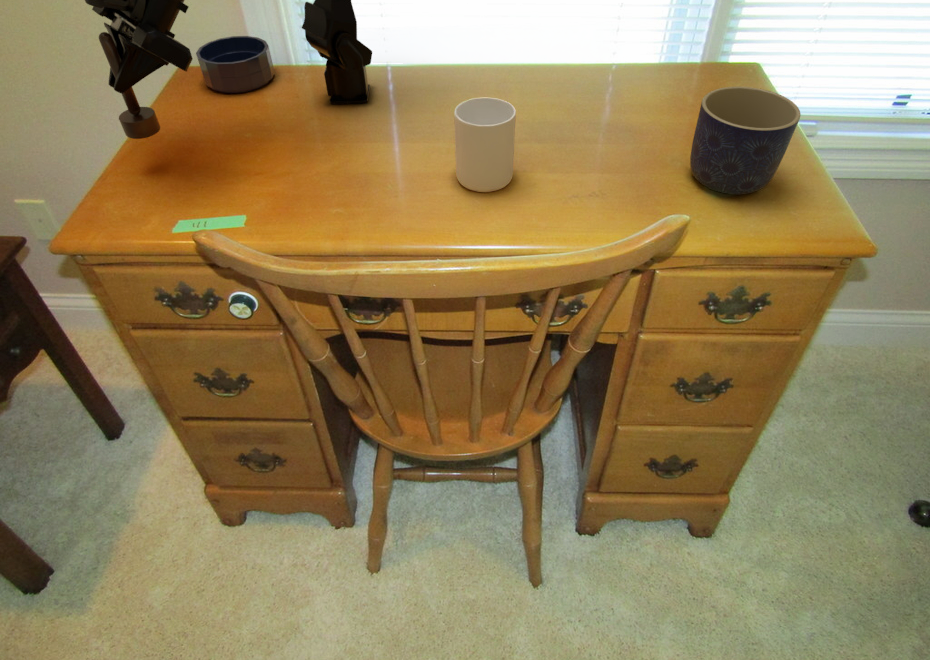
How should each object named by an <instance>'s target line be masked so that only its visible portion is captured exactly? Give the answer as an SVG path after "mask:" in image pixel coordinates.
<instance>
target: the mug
mask: <svg viewBox="0 0 930 660" xmlns="http://www.w3.org/2000/svg"><path fill="white" fill-rule="evenodd" d="M453 116H454V117H453V118H454V119H453V120H454V156H455V157H454V158H455V174H456V179H457V181H458V183H459V184H460V185H461V186H463V187H464V188H466V189H467V190H470V191H473V192H477V193H479V192H480V193H490V192H496V191H499V190H501V189H504V188H505V187H506V186H507V185H509V184H510V182H511V181H512V179H513V176H514V163H515V161H514V160H515V143H516V142H515V140H516V121H517V120H516V118H517V111H516V108H515V106H514V105H513V104H512V103H510V102H509V101H508V100H507V101H506V100H505V99H501V98H497V97H487V96H485V97H481V96H480V97H473V98H470V99H467V100H464V101H462V102H460V103H458V104H457V105H456V107H455V108H454V111H453Z"/></svg>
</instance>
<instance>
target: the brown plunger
mask: <svg viewBox="0 0 930 660" xmlns="http://www.w3.org/2000/svg"><path fill="white" fill-rule="evenodd" d="M98 40H99V43H100V45H101V49H102V50H103V53H104V55H105V58H106V60H107V63H108V64H109V68H110V67H111V70H112V72H113V75H114V77H115V79H116V77H117V73H118V70H119V66H120V63H121V58H120V56H119V53H118V51H117V48H116V46H115V43H114V41H113V38H112V36H111V35H110V34H109V33H108V31H107V32H106V31H102V32H100V33H99V34H98ZM120 94H121V96H122V99H123V101H124V103H125V106H126V108H127V109H126V110H123V111H122V112H121V113H120V114H119V115H118V121H119V123H120V125H121V127H122V130H123V132H124V134H125V136H126V137H127V138H129V139H132V140H133V139H134V140H141V139H146V138H150V137H152V136H154V135H156V134H157V133H159V132H160V131H161V125H160V121H159V119H158V117H157V114H156V112H155V110H154V109H153V108H152V107H149V106H140V104H139V101H138V99H137V96H136V93H135V91H134V89H133V86H132V87H131V88H129V89H128V90H126V91H125V92H124V93H120Z"/></svg>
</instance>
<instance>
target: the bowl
mask: <svg viewBox="0 0 930 660" xmlns="http://www.w3.org/2000/svg"><path fill="white" fill-rule="evenodd" d="M195 55H196V58H197V62H198V65H199V68H200V72H201V75H202V78H203V81H204V84H205V86H206V87H208V88H210V89H211V90H213V91H216V92H218V93H222V94H223V93H224V94H241V93H248V92H252V91H255V90H258V89H260V88H262V87H264V86H266V85H267V84H268V83H270V82H271V80H272V79H273V77H274V75H275V72H276V71H275V68H274V63H273V59H272V55H271V51H270V46H269V44H268V43H267V41H266V40H265V39H262V38H260V37H257V36H250V35H232V36H227V37H221V38H217V39H214V40H211V41H208V42H206V43H205V44H203V45H201V46H199V47H198V49H197V50H196V52H195Z"/></svg>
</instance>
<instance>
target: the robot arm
mask: <svg viewBox="0 0 930 660" xmlns="http://www.w3.org/2000/svg"><path fill="white" fill-rule="evenodd" d="M84 2H85V3H86V5H89V6H91V7H92V8H91V10H92V11H93V12H94V13H95V14H97V15H99V16H100V17H102V18H103V17H104V18H106V19H108V20H110V21H111V23H110V24H108V23H107V22H103V25H104V28H105V29H106V30H107V33H109V34H110V35H111V36H112V38H113V41H114V43H115V46H116V48H117V51H118V53H119V56H120V58H121V63H120V66H119V70H118V73H117V77H116V79H115V77H114V75H113V72H112V70H111V67H110V66H109V76H108V86H109V87H110V88H113V90H114V91H115V92H117V93H119V94H121V93H124V92H125V91H126V90H128V89H129V88H131V87H132V88H133V87H134V86H135V85H136V84H138V83H139V82H141V81H142V80H143V79H145V78H146V77H148V76H149V75H151V74H153V73H154V72H156V71H158V70H159V69H160V68H162V67H164V66H168V65H170V64H171V65H173V66H175V67H176V68H178V69H180V70H182V71H184V72H188V70H189V67H190V66H191V63H192V62H193V55H192V53H191V50H190V49H191V48H189V47H188V46H186V45H184V44H183V43H182V42H180V41H179V40H178V39H175V36H176V34H175V33H173V32H172V31H171V30H172V28H173V26H174V24H175V22H176V19H177V17H178V15H179V13H180V11H181V12H182V13H184V14H186V13H187V11H188V9H189V5H187V4H186V3H184V2H185V0H84ZM303 9H304V20H303V24H302V25H301V29H302V30H304V32H305V35H304V37H305V40H306V41H307V43H308V44H309V45H310V47H311V48H313V49H314V50H316V51H317V54H319V56H320V57H321V58H323V59H325V60H326V63H325V69H324V73H323V75H324V81H325V87H326V92H327V96H328V97H330V98H329V103H330V104H331V105H337V104H338V105H339V104H342V105H343V104H344V105H345V104H367V103H368V102H369V96H370V90H371V85H370V83H369V82H368V74H367V66H370V65H371V63H372V58H373V50H371V49H370V48H369V47H368V46H366V45H365V44H364V43H362V42H361V41H360V40H358V24H357V23H358V21H357V18H356V13H355V10H354V7H353V3H352V0H314V1H313V3H312V2H309V1H305V3H304V7H303Z"/></svg>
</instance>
